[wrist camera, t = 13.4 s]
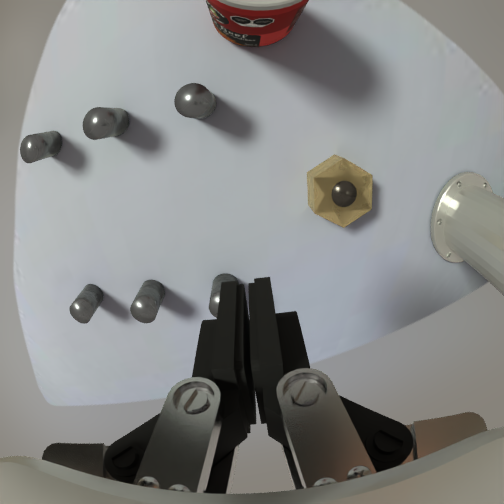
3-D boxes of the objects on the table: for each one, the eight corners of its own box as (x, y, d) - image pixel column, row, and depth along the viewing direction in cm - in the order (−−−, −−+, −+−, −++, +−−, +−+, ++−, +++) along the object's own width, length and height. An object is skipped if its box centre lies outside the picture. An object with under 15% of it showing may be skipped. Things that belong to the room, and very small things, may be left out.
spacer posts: (214, 87, 24) (208, 80, 19) (240, 294, 33) (239, 318, 29) (42, 135, 24) (18, 140, 20) (89, 303, 34) (75, 323, 30)
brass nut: (347, 146, 26) (358, 148, 24) (372, 192, 29) (385, 200, 26) (292, 181, 28) (298, 188, 25) (322, 226, 30) (329, 237, 27)
